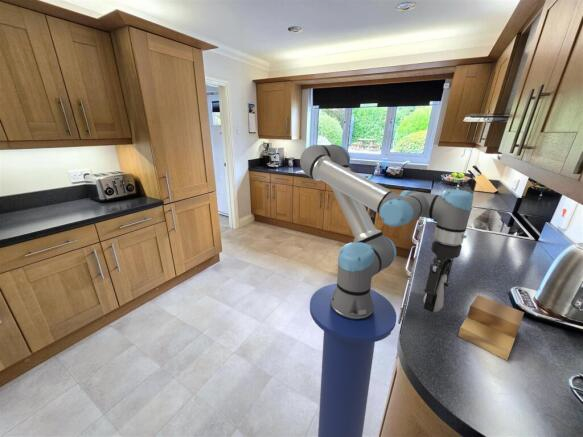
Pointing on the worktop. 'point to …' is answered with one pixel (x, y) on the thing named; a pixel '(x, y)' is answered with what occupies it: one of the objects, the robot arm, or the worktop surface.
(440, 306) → the salt shaker
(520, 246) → the worktop surface
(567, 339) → the worktop surface
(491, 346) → the stepped wooden block
